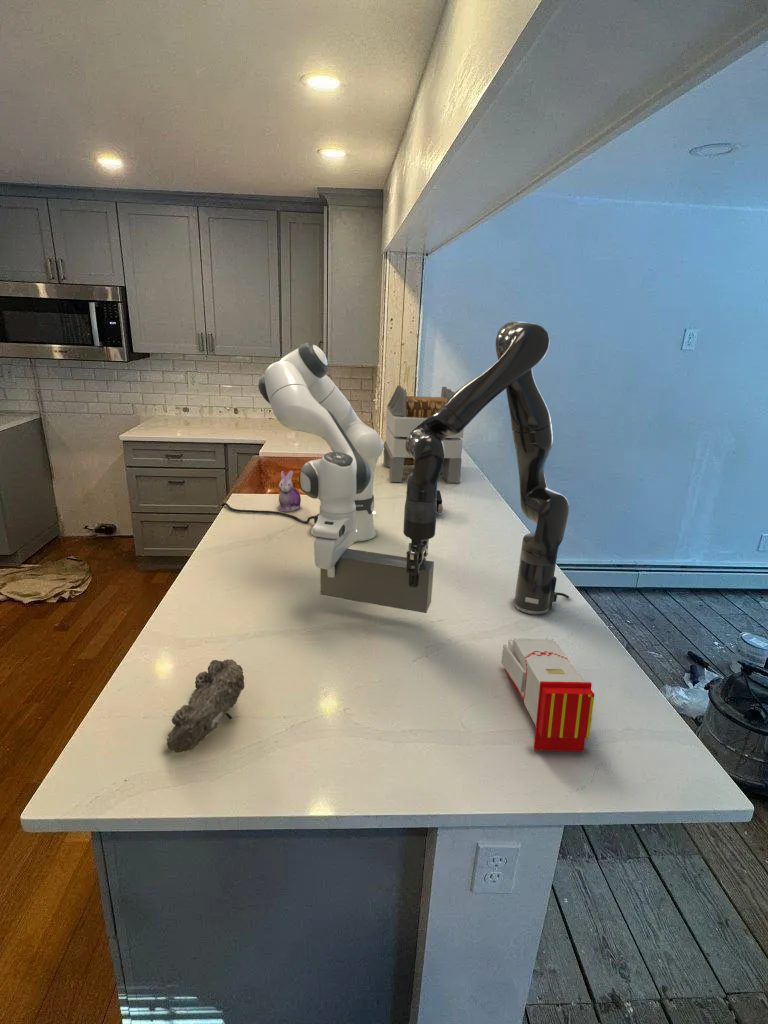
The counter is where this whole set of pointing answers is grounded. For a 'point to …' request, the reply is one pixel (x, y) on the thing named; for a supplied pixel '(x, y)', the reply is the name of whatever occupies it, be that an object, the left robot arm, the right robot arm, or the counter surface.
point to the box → (378, 581)
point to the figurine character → (439, 503)
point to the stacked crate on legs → (401, 422)
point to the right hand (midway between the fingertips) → (416, 580)
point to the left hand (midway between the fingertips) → (336, 570)
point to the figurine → (288, 493)
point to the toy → (550, 693)
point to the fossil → (206, 705)
